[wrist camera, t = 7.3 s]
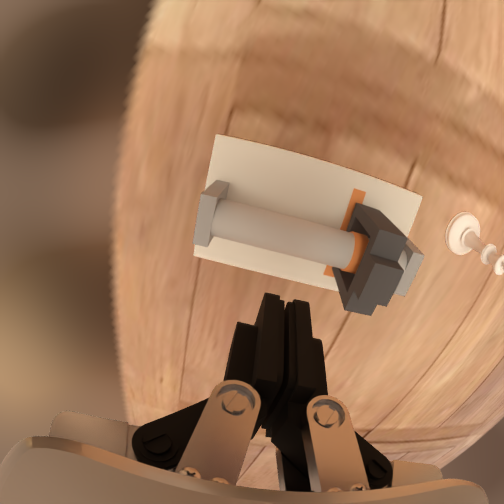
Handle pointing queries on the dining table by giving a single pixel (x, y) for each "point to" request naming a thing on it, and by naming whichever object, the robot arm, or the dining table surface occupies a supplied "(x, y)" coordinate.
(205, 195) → the rail
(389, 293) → the dark grey notched block
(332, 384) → the dining table surface
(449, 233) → the chess piece
